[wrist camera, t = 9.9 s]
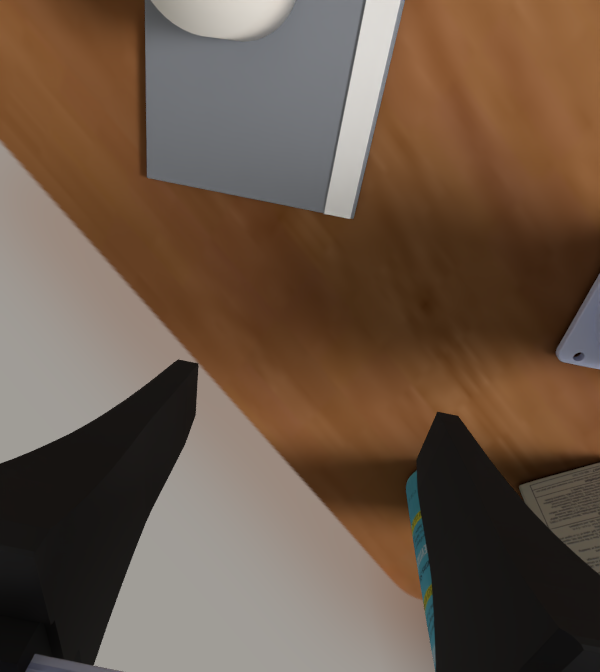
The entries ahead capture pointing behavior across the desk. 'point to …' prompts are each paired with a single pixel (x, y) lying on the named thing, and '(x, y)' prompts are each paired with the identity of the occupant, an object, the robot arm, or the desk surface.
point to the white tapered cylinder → (227, 17)
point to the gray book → (271, 104)
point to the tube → (421, 556)
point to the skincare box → (570, 509)
